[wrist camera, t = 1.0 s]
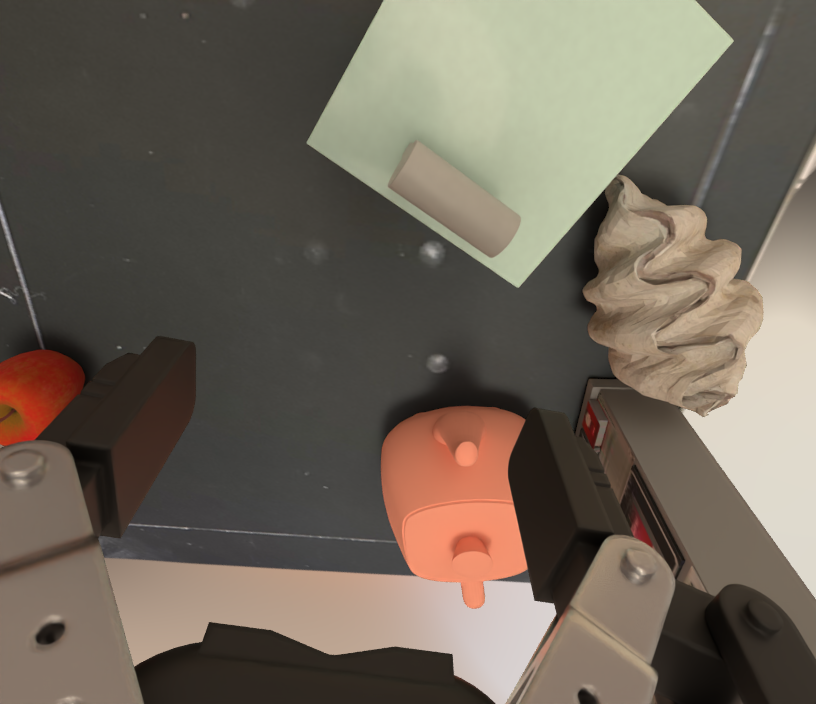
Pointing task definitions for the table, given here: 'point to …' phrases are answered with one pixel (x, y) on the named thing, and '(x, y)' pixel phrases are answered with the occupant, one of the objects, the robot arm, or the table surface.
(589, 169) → the lid
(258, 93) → the table surface
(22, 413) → the apple
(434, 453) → the teapot
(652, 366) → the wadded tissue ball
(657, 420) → the cassette tape recorder
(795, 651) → the robot arm
